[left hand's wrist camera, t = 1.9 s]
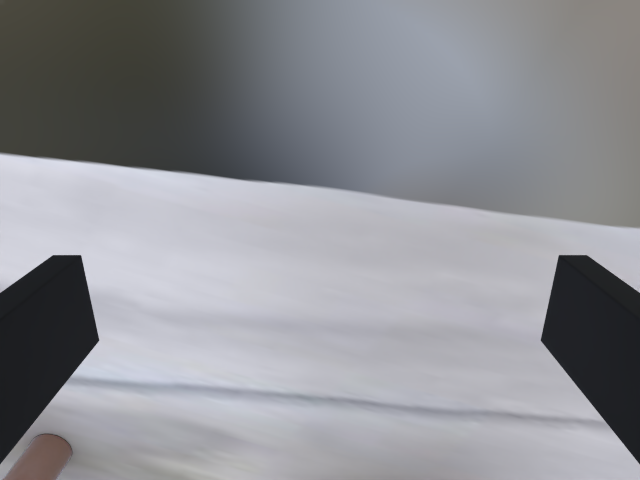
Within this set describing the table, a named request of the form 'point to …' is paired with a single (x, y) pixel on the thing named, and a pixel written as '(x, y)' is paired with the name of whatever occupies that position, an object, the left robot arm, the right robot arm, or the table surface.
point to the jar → (41, 459)
